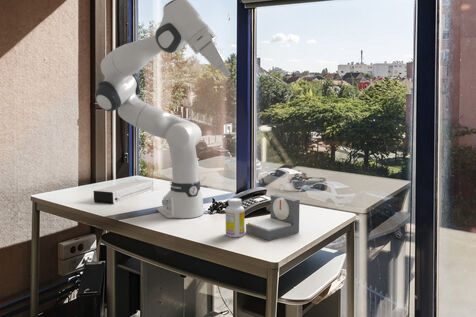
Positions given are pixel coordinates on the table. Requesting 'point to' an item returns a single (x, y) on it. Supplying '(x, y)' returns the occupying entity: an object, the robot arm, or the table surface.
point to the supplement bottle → (235, 218)
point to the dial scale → (277, 219)
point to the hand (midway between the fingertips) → (229, 75)
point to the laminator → (122, 191)
